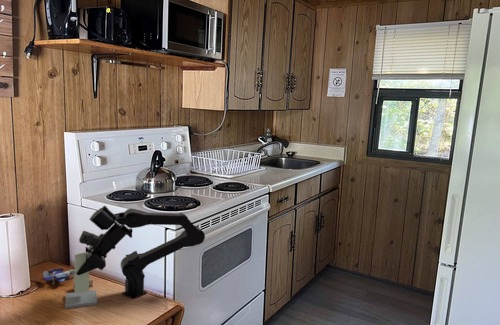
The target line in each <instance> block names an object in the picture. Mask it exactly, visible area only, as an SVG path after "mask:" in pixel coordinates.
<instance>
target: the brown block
mask: <svg viewBox="0 0 500 325" xmlns="http://www.w3.org/2000/svg"><path fill="white" fill-rule="evenodd" d="M93 285H94V280H93V279H92V278H90V277H89V289H91V288H90V287H92V288H93V287H94V286H93ZM72 289H73V291H75V281H73V282H72Z"/></svg>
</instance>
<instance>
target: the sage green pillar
mask: <svg viewBox="0 0 500 325" xmlns="http://www.w3.org/2000/svg"><path fill="white" fill-rule="evenodd" d="M86 254H87V255H88V254H89V252H86V251H85V252H74V270H75V273H74V282H75V290H74V292H75V293H80V292H88V291H90V288H89V278H90V271H88V272H86V273H84V274H81V275H77V274H76V273H77V272H78V270H79V269H80V268H81V266H82V265H83V264H84V262H85V261H86Z"/></svg>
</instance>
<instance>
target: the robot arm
mask: <svg viewBox="0 0 500 325" xmlns="http://www.w3.org/2000/svg"><path fill="white" fill-rule="evenodd" d="M89 221H90V222H92V223H93V224H94V225H95V226H96V227H97V228H98V229H100V230H101V231H106V232H104V233H100V234H99V235H97V234H94V233H92V232H89V231H86V230H82V233H81V235H80V236H79V241H78V243H80V244H82V245H86V247H85V252H89V254H88V255H87V254H86V261H85V262H84V264H83V265H82V266H81V268H80V269H79V270H78V272H77V273H76V274H77V275H81V274H84V273H86V272H88V271H89V272H91V271H94V270H96V269H99V271H102V270H104V269H105V267H106V266H107V265H106V264H107V262H106V258H107V257H108V253H110V252H111V251H112V250H115V249H116V246H117V245H118V244H119V242H121V240H123V239H124V238H125V237H126V236H128V237H129V238H130V239H132V238H133V228H134V229H135V228H142V227H145V226H149V225H151V226H152V225H156V226H157V225H159V226H161V225H163V226H164V225H165V226H181V227H182V228H183V229H184V230H183V231H182V232H181V233H180V234H179V235H178V236H177V237H175V238H172V239H170V240H168V241H166V242H163V243H162V244H160V245H158V246H156V247H153V248H151V249H149V250H147V251H145V252H142V253H138V251H137V250H134V251H132V252H131V253H129V254H125V257H123V258H122V259H121V261H120V268H121V272H122V275H123V276H124V277H125V282H124V285H125V286H124V288H125V289H124V291H122V292H121V294H122V295H124V296H125V297H128V298H131V299H133V300H134V299H136V298H139V297H141V296H143V295H146V294H147V293H148V291H147V290H144V288H145V287H144V286H145V277H146V276H145V273H144V270H145V269H146V267H148V266H149V265H150V264H153V263H155V262H156V261H159V260H161V259H163V258H165V257H166V256H169V255H171V254H173V253H176V252H177V251H179V250H181V249H183V248H188V247H189V248H191V247H195V246H197V245H198V246H199V245H201V244H203V243H204V242H205V239H206V238H205V237H206V234H205V232H204V231H203V230H202V229H201V228H200V227H199V226H197V225H195V224H193V223H192V221H191V220H190V219H189V218H188V216H187V215H186V214H185V213H183V212H180V213H173V212H172V213H170V212H169V213H168V212H167V213H166V212H164V213H163V212H148V211H147V212H146V211H144V210H141V209H136V208H128V209H126V210H124V211H122V212H117V213H114V212H112V211H111V210H110V209H109V208H108V206H106V205H103V206H102V207H100V208H99V209H98V210H95V212H93V214H91V216H90V218H89Z"/></svg>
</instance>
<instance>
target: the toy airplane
mask: <svg viewBox="0 0 500 325" xmlns="http://www.w3.org/2000/svg"><path fill="white" fill-rule="evenodd" d="M64 269H65V268H53V269H50V270H49V271H48V270H45V271H44V270H43V272H42V279H44V280H45V281H46V282H48V281H49V282H51V281H52V282H51V284H52V285H55V284H56V282H58V283H62V282H65V281H66V280H69V279H70V278H71V279H72V278H73V279H75V269H70V270H67V271H64ZM73 274H74V275H73Z"/></svg>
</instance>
